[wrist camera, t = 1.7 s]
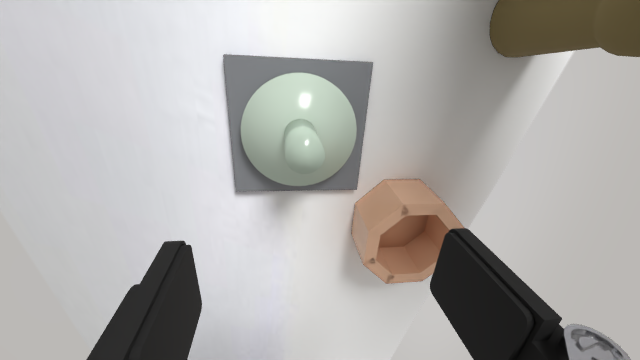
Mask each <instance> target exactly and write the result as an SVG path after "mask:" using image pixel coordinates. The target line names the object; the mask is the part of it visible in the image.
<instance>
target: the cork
mask: <svg viewBox="0 0 640 360" xmlns="http://www.w3.org/2000/svg"><path fill="white" fill-rule="evenodd" d="M490 38H491V42H492V45H493V47H494V48H495V49H496V51H497V52H498V53H500V54H501V55H503V56H505V57H523V56H531V55H540V54H548V53H557V52H565V51H573V50H581V49H590V48H598V47H601V48H602V49H604V50H605V51H607V52H608V53H611V54H614V55H617V56H631V57H640V0H499V1H498V3H497V5H496V7H495V8H494V11H493V14H492V18H491V21H490Z"/></svg>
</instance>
